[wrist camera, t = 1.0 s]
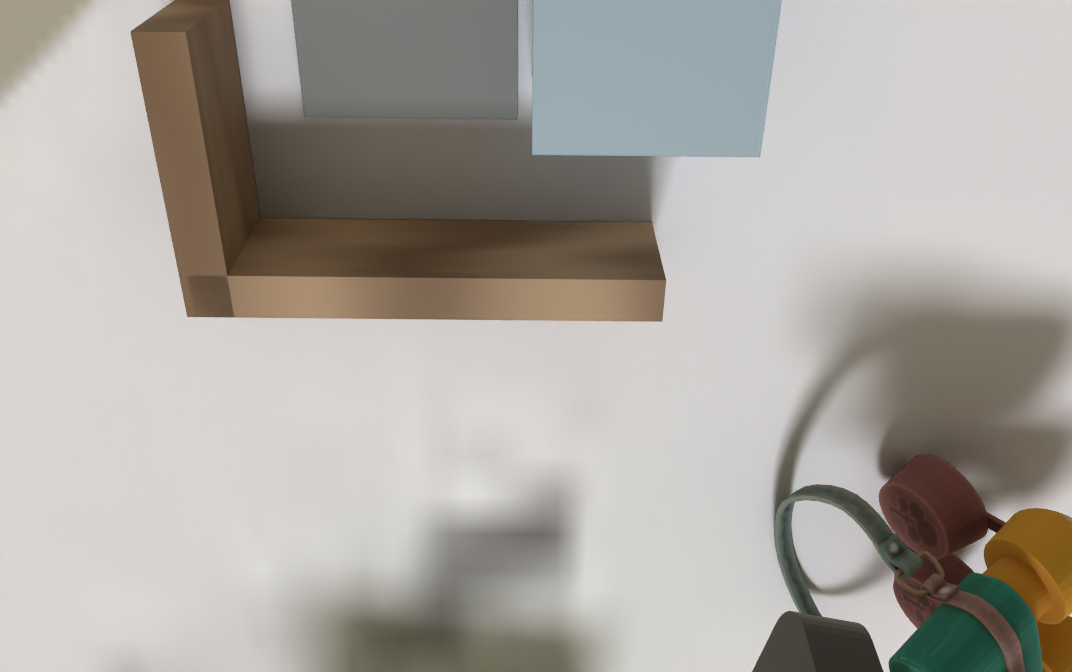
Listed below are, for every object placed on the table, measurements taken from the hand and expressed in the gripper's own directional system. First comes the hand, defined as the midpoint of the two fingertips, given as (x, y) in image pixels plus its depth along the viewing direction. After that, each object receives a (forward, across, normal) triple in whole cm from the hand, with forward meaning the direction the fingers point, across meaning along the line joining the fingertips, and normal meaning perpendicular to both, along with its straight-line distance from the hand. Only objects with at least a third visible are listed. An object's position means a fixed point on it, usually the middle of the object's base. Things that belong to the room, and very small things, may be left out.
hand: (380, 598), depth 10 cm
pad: (+18, +2, -1) cm, 18 cm away
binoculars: (+19, -17, +12) cm, 28 cm away
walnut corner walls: (+18, +1, +2) cm, 18 cm away
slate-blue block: (+18, -3, -3) cm, 19 cm away
